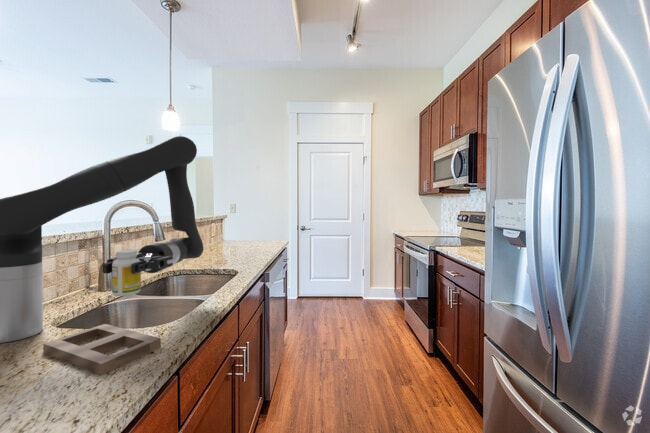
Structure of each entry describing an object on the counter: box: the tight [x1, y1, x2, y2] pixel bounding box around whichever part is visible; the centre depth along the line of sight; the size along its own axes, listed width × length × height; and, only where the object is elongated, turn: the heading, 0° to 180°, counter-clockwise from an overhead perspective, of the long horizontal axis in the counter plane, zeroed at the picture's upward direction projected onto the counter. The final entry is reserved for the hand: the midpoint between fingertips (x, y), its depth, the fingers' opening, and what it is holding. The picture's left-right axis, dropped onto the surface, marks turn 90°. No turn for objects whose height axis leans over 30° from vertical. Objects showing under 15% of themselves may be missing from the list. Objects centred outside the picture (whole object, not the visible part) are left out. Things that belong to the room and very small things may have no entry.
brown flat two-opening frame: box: [42, 323, 162, 376], centre depth 64 cm, size 20×12×2 cm, turn 67°
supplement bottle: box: [111, 249, 142, 297], centre depth 66 cm, size 5×5×10 cm
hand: (119, 268), depth 63 cm, fingers closed on supplement bottle, 5 cm apart
